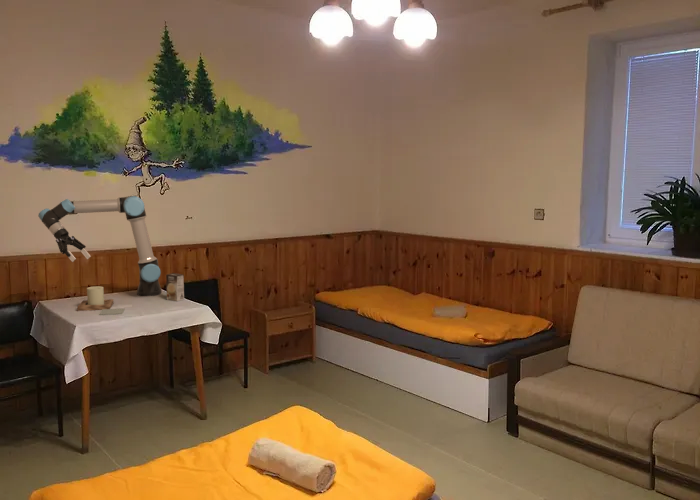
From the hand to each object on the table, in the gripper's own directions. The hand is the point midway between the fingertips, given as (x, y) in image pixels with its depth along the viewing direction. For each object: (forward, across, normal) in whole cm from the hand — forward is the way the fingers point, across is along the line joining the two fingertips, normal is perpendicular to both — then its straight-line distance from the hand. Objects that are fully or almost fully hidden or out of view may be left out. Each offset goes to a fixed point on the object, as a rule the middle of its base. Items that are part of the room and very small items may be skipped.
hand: (81, 259), depth 359 cm
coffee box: (+49, -31, +13) cm, 59 cm away
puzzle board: (+26, -1, -13) cm, 29 cm away
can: (+26, -1, -13) cm, 29 cm away
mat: (+38, +9, -1) cm, 39 cm away
